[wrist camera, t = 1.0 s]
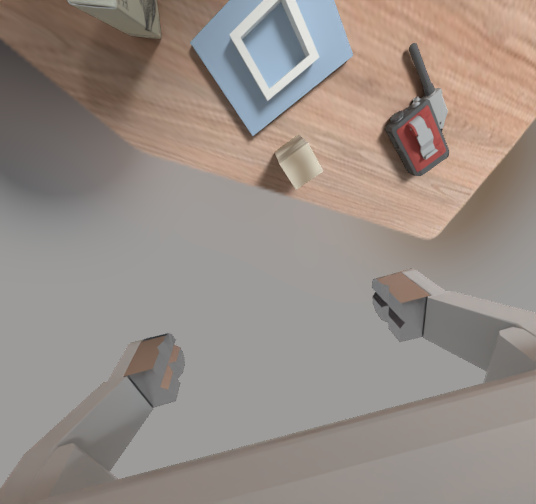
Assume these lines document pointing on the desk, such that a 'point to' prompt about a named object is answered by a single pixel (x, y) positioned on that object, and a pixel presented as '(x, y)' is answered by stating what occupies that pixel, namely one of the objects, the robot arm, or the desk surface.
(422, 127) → the walkie-talkie
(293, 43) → the base plate
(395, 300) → the robot arm
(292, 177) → the block
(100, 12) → the box
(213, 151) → the desk surface
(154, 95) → the desk surface
